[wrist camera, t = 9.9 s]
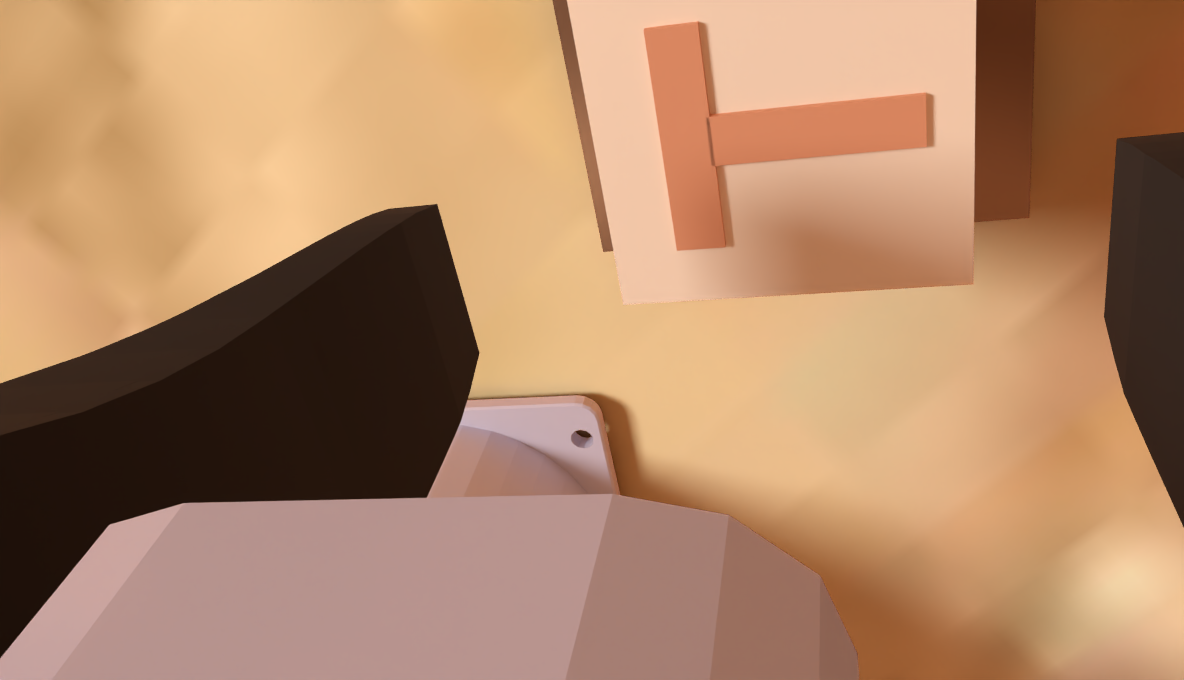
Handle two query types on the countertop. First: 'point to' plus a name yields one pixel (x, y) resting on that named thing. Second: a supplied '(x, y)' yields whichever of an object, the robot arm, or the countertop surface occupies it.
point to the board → (997, 110)
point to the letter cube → (782, 143)
